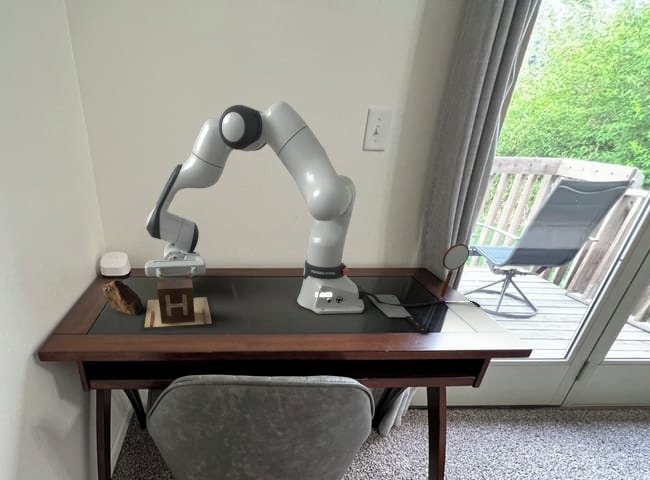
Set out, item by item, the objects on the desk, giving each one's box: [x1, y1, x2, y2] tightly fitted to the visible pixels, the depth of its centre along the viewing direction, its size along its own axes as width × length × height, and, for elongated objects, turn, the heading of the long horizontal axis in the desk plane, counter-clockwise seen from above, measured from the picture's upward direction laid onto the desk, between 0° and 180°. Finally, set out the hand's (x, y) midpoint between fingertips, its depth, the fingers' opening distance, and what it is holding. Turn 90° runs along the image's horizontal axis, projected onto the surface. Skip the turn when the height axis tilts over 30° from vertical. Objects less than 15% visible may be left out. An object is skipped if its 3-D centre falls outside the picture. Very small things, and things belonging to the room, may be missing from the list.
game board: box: [144, 296, 213, 328], centre depth 114 cm, size 20×20×1 cm
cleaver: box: [366, 293, 428, 335], centre depth 116 cm, size 29×1×10 cm
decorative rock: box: [101, 280, 143, 316], centre depth 111 cm, size 12×6×11 cm, turn 66°
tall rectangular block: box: [156, 278, 195, 324], centre depth 106 cm, size 10×7×11 cm
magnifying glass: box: [439, 243, 470, 301], centre depth 120 cm, size 9×2×20 cm, turn 97°
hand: (176, 275), depth 114 cm, fingers open, 8 cm apart
